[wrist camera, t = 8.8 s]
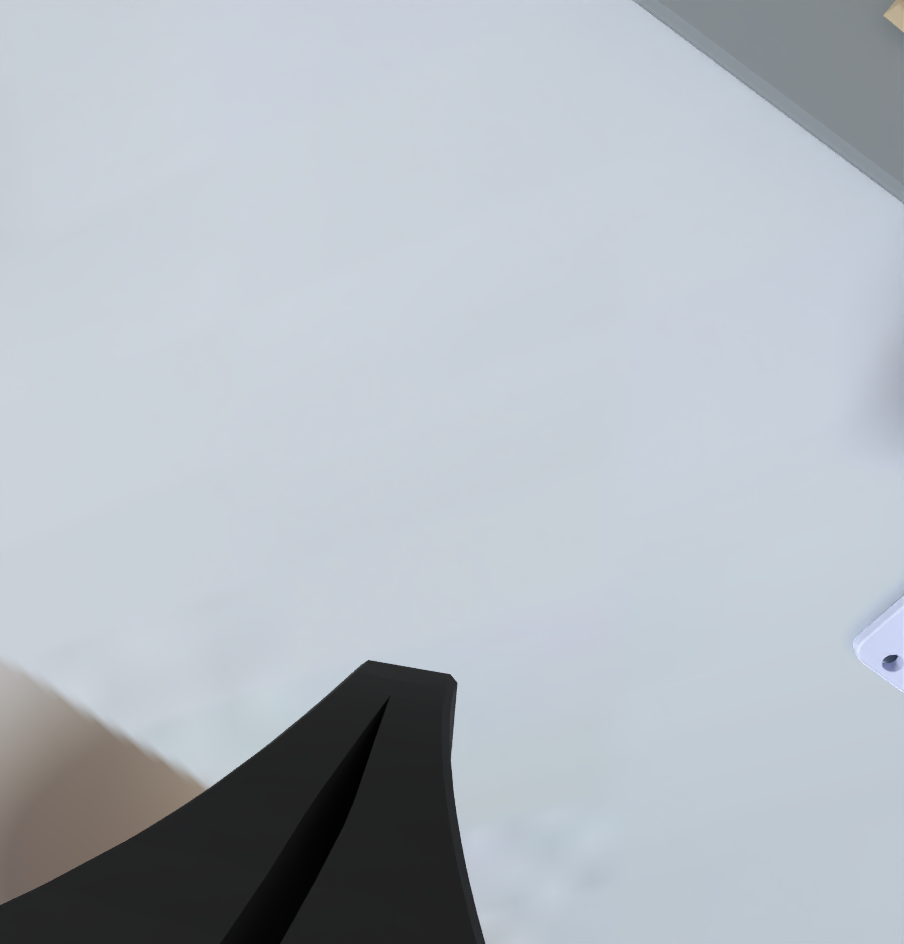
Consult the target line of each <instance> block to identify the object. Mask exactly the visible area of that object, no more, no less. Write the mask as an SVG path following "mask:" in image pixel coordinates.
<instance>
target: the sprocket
mask: <svg viewBox="0 0 904 944" xmlns="http://www.w3.org/2000/svg"><path fill="white" fill-rule="evenodd" d="M883 16H884V17H886V18H887V19H888V20H889V21H890V22H892V23H893V24H894V25H895V26H897V27H898V28H899V29H900V30H901V31H903V32H904V0H895V2H894V3H893V4H892V5H891V6H890V8H889V9H888V10H887V11H886V12H885V14H884V15H883Z"/></svg>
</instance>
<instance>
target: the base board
mask: <svg viewBox="0 0 904 944" xmlns="http://www.w3.org/2000/svg"><path fill="white" fill-rule="evenodd" d="M633 1H635V2H636V3H637V4H639V5H640V6H641V7H643V8H644V9H645V10H647V11H648V12H649V13H651V14H652V15H653V16H655V17H656V18H657V19H659V20H660V21H661V22H663V23H664V24H665V25H667V26H668V27H669V28H671V29H672V30H673V31H675V32H676V33H677V34H679V35H680V36H681V37H683V38H684V39H685V40H687V41H688V42H689V43H691V44H692V45H693V46H695V47H696V48H697V49H699V50H700V51H701V52H703V53H704V54H705V55H707V56H708V57H709V58H711V59H712V60H713V61H715V62H716V63H717V64H719V65H720V66H721V67H723V68H724V69H725V70H727V71H728V72H729V73H731V74H732V75H733V76H735V77H736V78H737V79H739V80H740V81H741V82H743V83H744V84H745V85H747V86H748V87H749V88H751V89H752V90H753V91H755V92H756V93H757V94H759V95H760V96H761V97H763V98H764V99H765V100H767V101H768V102H769V103H771V104H772V105H773V106H775V107H776V108H777V109H779V110H780V111H781V112H783V113H784V114H785V115H787V116H788V117H789V118H791V119H792V120H793V121H795V122H796V123H797V124H799V125H800V126H801V127H803V128H804V129H805V130H807V131H808V132H809V133H811V134H812V135H813V136H815V137H816V138H817V139H819V140H820V141H821V142H823V143H824V144H825V145H827V146H828V147H829V148H831V149H832V150H833V151H835V152H836V153H837V154H839V155H840V156H841V157H843V158H844V159H845V160H847V161H848V162H849V163H851V164H852V165H853V166H855V167H856V168H857V169H859V170H860V171H861V172H863V173H864V174H865V175H867V176H868V177H869V178H871V179H872V180H873V181H875V182H876V183H877V184H879V185H880V186H881V187H883V188H884V189H885V190H887V191H888V192H889V193H891V194H892V195H893V196H895V197H896V198H897V199H899V200H900V201H901V202H903V203H904V32H903V31H901V30H900V29H899V28H898V27H897V26H895V25H894V24H893V23H892V22H890V21H889V20H888V19H887V18H886V17H884V16H883V15H884V14H885V12H886V11H887V10H888V9H889V8H890V6H891V5H892V4H893V3H894V2H895V0H633Z"/></svg>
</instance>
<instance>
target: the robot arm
mask: <svg viewBox="0 0 904 944" xmlns="http://www.w3.org/2000/svg"><path fill="white" fill-rule="evenodd" d="M853 649H854V652H855V654H856V656H857V657H858V659H859V660H860V661H861V662H862V663H863V664H864V665H865V666H867V667H868V668H870V669H871V670H872V671H874V672H875V673H877V674H878V675H879V676H881V677H882V678H883V679H885V680H886V681H888V682H889V683H890V684H892V685H893V686H895V687H896V688H897V689H899V690H900V691H901V692H903V693H904V595H903V596H902V597H901V598H900V599H899V600H898V601H896V602H895V603H894V604H893V605H892V606H891V607H890V608H888V609H887V610H886V611H885V612H884V613H883V614H882V615H880V616H879V617H878V618H877V619H876V620H875V621H873V622H872V623H871V624H870V625H869V626H868V627H867V628H865V629H864V630H863V631H862V632H861V633H860V634H859V635H858V636H857V637H856V638H855V640H854V643H853ZM889 655H898V657H897V659H896V660H895V661H893V662H891V663H883V662H882V661H883V659H884V658H885V657H887V656H889ZM456 692H457V682H456V681H455V679H454V678H453V677H452V676H451V675H450V674H445V673H440V672H434V671H428V670H422V669H416V668H411V667H405V666H399V665H393V664H388V663H382V662H376V661H370V660H368V661H366V662H365V663H364V664H362V665H361V666H360V667H358V668H357V669H356V670H355V671H354V672H353V673H352V674H351V675H349V676H348V677H347V678H346V679H345V680H344V681H343V682H342V683H340V684H339V685H338V686H337V687H336V688H335V689H334V690H333V691H332V692H330V693H329V694H328V695H327V696H326V697H325V698H324V699H322V700H321V701H320V702H319V703H318V704H317V705H315V706H314V707H313V708H312V709H311V710H310V711H309V712H307V713H306V714H305V715H304V716H303V717H301V718H300V719H299V720H298V721H296V722H295V723H294V724H293V725H292V726H290V727H289V728H288V729H287V730H285V731H284V732H283V733H282V734H281V735H279V736H278V737H277V738H276V739H274V740H273V741H272V742H271V743H270V744H268V745H267V746H266V747H264V748H263V749H262V750H261V751H259V752H258V753H257V754H255V755H254V756H253V757H251V758H250V759H248V760H247V761H246V762H244V763H243V764H242V765H240V766H239V767H238V768H236V769H235V770H234V771H232V772H231V773H229V774H228V775H227V776H225V777H224V778H223V779H221V780H220V781H219V782H217V783H216V784H215V785H213V786H212V787H210V788H209V789H207V790H206V791H204V792H203V793H202V794H200V795H199V796H197V797H196V798H194V799H193V800H191V801H190V802H188V803H187V804H185V805H184V806H182V807H181V808H179V809H177V810H176V811H175V812H173V813H171V814H170V815H168V816H166V817H165V818H163V819H162V820H160V821H158V822H157V823H155V824H153V825H152V826H150V827H149V828H147V829H145V830H144V831H142V832H140V833H139V834H137V835H135V836H134V837H132V838H130V839H128V840H127V841H125V842H123V843H121V844H119V845H117V846H115V847H114V848H112V849H110V850H108V851H106V852H104V853H102V854H101V855H99V856H97V857H95V858H93V859H91V860H89V861H87V862H85V863H84V864H82V865H80V866H78V867H76V868H75V869H72V870H70V871H69V872H67V873H65V874H63V875H61V876H59V877H57V878H55V879H54V880H52V881H50V882H48V883H46V884H44V885H42V886H40V887H38V888H36V889H34V890H32V891H30V892H27V893H25V894H23V895H21V896H19V897H17V898H15V899H12V900H10V901H8V902H6V903H4V904H2V905H0V944H485V941H484V937H483V934H482V930H481V926H480V923H479V919H478V915H477V911H476V907H475V903H474V899H473V895H472V891H471V886H470V882H469V878H468V873H467V869H466V864H465V859H464V854H463V849H462V844H461V838H460V832H459V826H458V820H457V814H456V806H455V799H454V791H453V780H452V769H451V750H452V739H453V727H454V715H455V704H456Z"/></svg>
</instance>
